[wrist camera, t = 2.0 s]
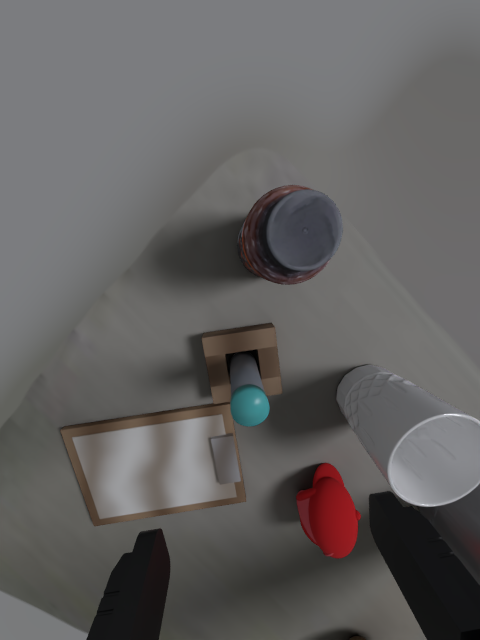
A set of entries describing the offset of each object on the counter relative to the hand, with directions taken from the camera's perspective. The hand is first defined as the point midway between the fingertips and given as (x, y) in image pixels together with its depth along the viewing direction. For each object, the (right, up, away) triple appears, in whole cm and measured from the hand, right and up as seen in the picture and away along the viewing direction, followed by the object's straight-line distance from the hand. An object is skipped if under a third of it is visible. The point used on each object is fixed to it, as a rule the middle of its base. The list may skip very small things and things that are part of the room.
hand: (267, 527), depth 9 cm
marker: (-1, +4, +16) cm, 17 cm away
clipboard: (-10, -9, +19) cm, 23 cm away
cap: (+9, -13, +21) cm, 26 cm away
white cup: (+13, 0, +18) cm, 22 cm away
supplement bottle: (+2, +15, +14) cm, 21 cm away
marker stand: (-1, +4, +16) cm, 17 cm away
